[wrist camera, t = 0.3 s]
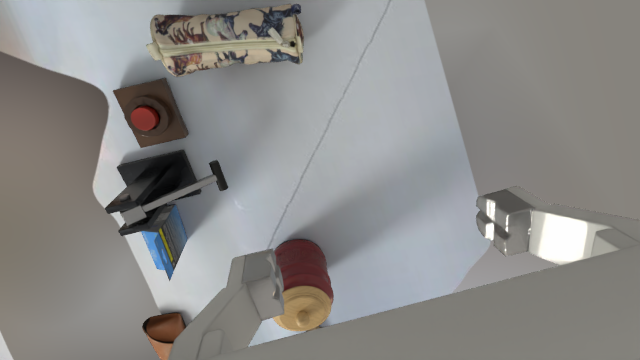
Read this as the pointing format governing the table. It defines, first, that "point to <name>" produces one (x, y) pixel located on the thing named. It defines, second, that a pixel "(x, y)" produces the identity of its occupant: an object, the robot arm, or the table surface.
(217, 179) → the lever
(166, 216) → the tape cartridge
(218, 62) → the pencil case
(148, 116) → the button
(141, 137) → the control block
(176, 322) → the sunglasses case
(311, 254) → the kitchen canister
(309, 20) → the table surface
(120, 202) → the bracket
